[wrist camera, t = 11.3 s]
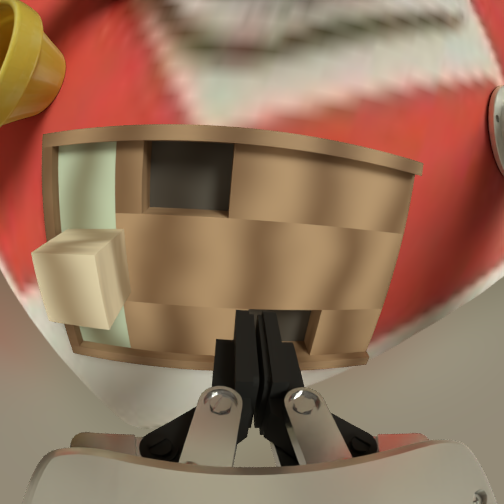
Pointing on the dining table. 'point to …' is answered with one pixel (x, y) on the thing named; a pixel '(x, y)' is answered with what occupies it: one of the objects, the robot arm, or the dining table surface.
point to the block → (83, 276)
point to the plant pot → (26, 63)
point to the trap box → (232, 236)
